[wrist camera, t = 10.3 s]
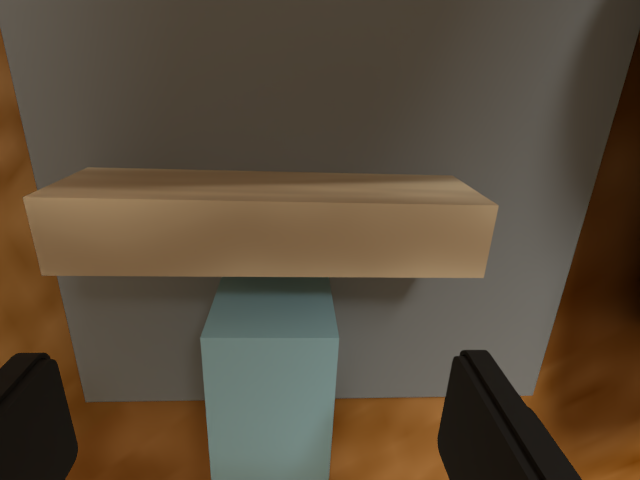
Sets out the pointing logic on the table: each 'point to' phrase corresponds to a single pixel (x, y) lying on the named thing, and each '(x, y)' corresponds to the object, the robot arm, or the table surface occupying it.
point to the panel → (330, 157)
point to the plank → (259, 224)
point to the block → (270, 378)
